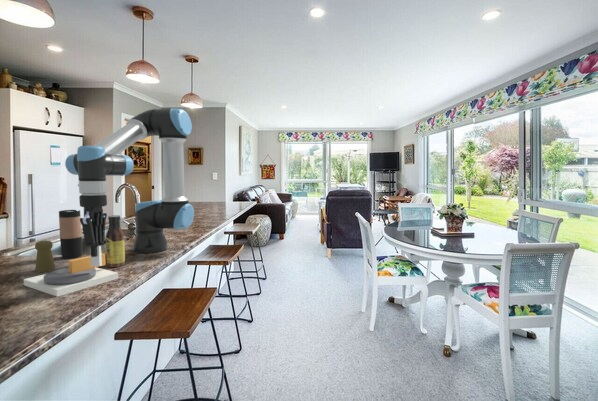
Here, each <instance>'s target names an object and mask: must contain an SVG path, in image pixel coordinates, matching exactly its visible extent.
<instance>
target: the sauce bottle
mask: <svg viewBox="0 0 598 401" xmlns="http://www.w3.org/2000/svg"><path fill="white" fill-rule="evenodd" d="M107 216H108V215H107ZM107 220H108V229H107V232H106V234H105V245H106V246H105V247H106V263H107V264H106V265H107V267H109V268H119V267H123V266H124V265H125V264H126V262H125V261H126V250H125V249H126V248H125V245H126V244H125V233H124V231H123V228H121V216H120V215H119V214H114V215H109V216H108V217H107Z"/></svg>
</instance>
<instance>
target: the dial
mask: <svg viewBox="0 0 598 401" xmlns="http://www.w3.org/2000/svg"><path fill="white" fill-rule="evenodd" d="M101 256H102V265H101V266H91V257H90V255H87V256H81V257H78V258H73V259H67V260H68V261H67V262H68V267H65V268H60V269H56V270H51V271H49V272H48V273H45V274H46V275H44V274H43V275H44V283H46V284H52V285H60V284H70V283H76V282H80V281H84V280H87V279H90V278H92V277H94V276H95V275H96V269H95V267H96V268H99V267H102V266H106V265H107V264H106V263H107V260H106V253H103V252H101Z"/></svg>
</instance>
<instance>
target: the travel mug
mask: <svg viewBox="0 0 598 401" xmlns="http://www.w3.org/2000/svg"><path fill="white" fill-rule="evenodd" d="M80 218H82V217H81V210H77V209H63V210H59V211H58V222H59V225H58V226H59V227H58V228H59V241H60V252H61V258H62V259H64V260H73V259H77V258H82V257H83V239H82V237H83V235H82V233H83V231H82V224H81V222H80Z"/></svg>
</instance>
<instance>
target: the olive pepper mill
mask: <svg viewBox="0 0 598 401" xmlns="http://www.w3.org/2000/svg"><path fill="white" fill-rule="evenodd" d="M34 248H35V250H36V262H35V268H34V269H35V273H46V272H52V271H55V269H56V264H55V260H54V255H53V251H52V248H53V242H52V240H47V239H46V240H39V241H37V242H36V243H35V245H34Z"/></svg>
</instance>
